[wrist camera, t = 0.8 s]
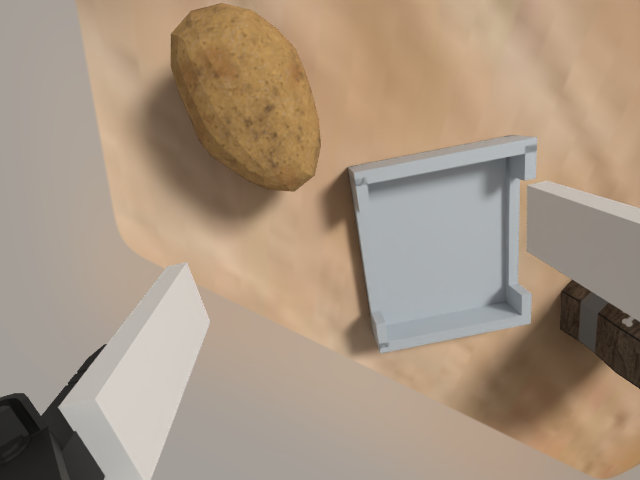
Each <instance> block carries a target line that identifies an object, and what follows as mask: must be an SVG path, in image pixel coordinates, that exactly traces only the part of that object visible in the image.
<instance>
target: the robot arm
mask: <svg viewBox="0 0 640 480" xmlns="http://www.w3.org/2000/svg"><path fill="white" fill-rule="evenodd" d="M527 252H529V253H530V254H532V255H534V256H535V257H537V258H538V259H540V260H542V261H543V262H545V263H547V264H548V265H550V266H551V267H553V268H555V269H556V270H558V271H559V272H561V273H563V274H564V275H566V276H567V277H569V278H571V279H572V280H574V281H575V282H577V283H579V284H580V285H582V286H583V287H585V288H587V289H588V290H590V291H591V292H593V293H595V294H596V295H598V296H599V297H601V298H603V299H604V300H606V301H607V302H609V303H611V304H612V305H614V306H615V307H617V308H619V309H620V310H622V311H623V312H625V313H627V314H628V315H630V316H631V317H633V318H635V319H636V320H638V321H639V322H640V208H637V207H634V206H631V205H627V204H624V203H620V202H617V201H614V200H610V199H607V198H604V197H600V196H597V195H594V194H590V193H587V192H583V191H580V190H577V189H573V188H570V187H567V186H563V185H560V184H557V183H553V182H550V181H544V182H539V183H535V184H530V185H527ZM209 324H210V320H209V318H208V315H207V312H206V310H205V308H204V305H203V302H202V300H201V297H200V295H199V292H198V289H197V287H196V284H195V282H194V279H193V277H192V274H191V272H190V269H189V267H188V264H187V262H185V263H181V264H176V265H172V266H168V267H166V269H165V270H164V271H163V273H162V274H161V275H160V276H159V278H158V279H157V280H156V282H155V283H154V284H153V286H152V287H151V288H150V290H149V291H148V292H147V293H146V294H145V296H144V297H143V298H142V300H141V301H140V302H139V304H138V305H137V306H136V307H135V309H134V310H133V312H132V313H131V314H130V315H129V316H128V318H127V319H126V320H125V322H124V323H123V324H122V326H121V327H120V328H119V329H118V331H117V332H116V333H115V334H114V336H113V337H112V338H111V340H110V341H109V342H108V344H105V345H103V346H102V347H101V348H100V349H98V350H97V351H96V352H95V353H94V354H92V355H91V356H90V357H89V358H88V359H87V360H86V361H85V363H84V364H83V365H82V366H81V367H80V369H79V370H78V371H77V372H78V373H77V374H75V375H74V376H73V377H72V379H71V380H70V381H69V382H68V385H67V386H65V387H64V389H63V390H62V391H61V393H59V395H58V396H57V397H56V399H55V400H54V401H53V402H52V403H51V405H50V406H49V407H48V408H47V410H46V411H45V412H44V413H43V414H42V416H40V414H39V413H38V411H37V410H36V409H35V407H34V406H33V404H32V403H31V401H30V400H29V398H28V397H27V396H26V395H25V394H24V393H14V394H11V395H7V396H4V397H1V398H0V480H104V478H105V479H106V480H151V478H152V475H153V472H154V470H155V467H156V464H157V461H158V459H159V456H160V454H161V451H162V448H163V446H164V443H165V441H166V438H167V435H168V433H169V430H170V427H171V425H172V422H173V419H174V417H175V414H176V411H177V409H178V406H179V404H180V401H181V398H182V396H183V393H184V390H185V388H186V385H187V382H188V379H189V377H190V374H191V372H192V369H193V366H194V364H195V361H196V359H197V356H198V353H199V350H200V348H201V345H202V343H203V340H204V337H205V335H206V332H207V329H208V327H209Z"/></svg>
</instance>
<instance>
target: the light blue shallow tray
mask: <svg viewBox="0 0 640 480" xmlns="http://www.w3.org/2000/svg"><path fill="white" fill-rule="evenodd" d="M536 154H537V137H530V136H519V135H510V136H505V137H500V138H494V139H489V140H484V141H479V142H474V143H469V144H463V145H458V146H453V147H448V148H443V149H438V150H433V151H427V152H422V153H417V154H412V155H407V156H402V157H396V158H391V159H386V160H381V161H376V162H371V163H366V164H360V165H355V166H350V167H348V172H349V178H350V185H351V191H352V198H353V205H354V211H355V218H356V224H357V231H358V238H359V244H360V251H361V258H362V264H363V271H364V277H365V284H366V291H367V297H368V304H369V310H370V317H371V324H372V330H373V335H374V338H375V340H376V343H377V346H378V349H379V351H380V353H385V352H390V351H395V350H400V349H405V348H410V347H415V346H420V345H425V344H430V343H435V342H441V341H446V340H451V339H456V338H461V337H466V336H471V335H476V334H481V333H486V332H491V331H496V330H501V329H506V328H511V327H516V326H521V325H526V324H531V300H532V293H530V292H529V291H528V290H526V289H525V288H524V287H522V286H521V285H520V284H518V254H519V200H520V179H521V180H524V181H525V180H530V179H535V178H536Z"/></svg>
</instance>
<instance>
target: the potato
mask: <svg viewBox="0 0 640 480" xmlns="http://www.w3.org/2000/svg"><path fill="white" fill-rule="evenodd" d="M171 68H172V72H173V75H174V78H175V81H176V84H177V88H178V91H179V94H180V96H181V98H182V101H183V103H184V105H185V107H186V110H187V112H188V114H189V116H190V119H191V121H192V124H193V126H194V129H195V131H196V134H197V137H198V139H199V141H200V142H201V143H202V144H203V146H204V147H205V148H206V149H207V151H208V152H209V153H210V155H211V156H213V157H214V158H216V159H217V160H219V161H220V162H221V163H223V164H224V165H226V166H227V167H229V168H230V169H232V170H233V171H235V172H236V173H238V174H239V175H241V176H242V177H243V178H245V179H246V180H248V181H250V182H252V183H255V184H257V185H259V186H261V187H264V188H266V189H270V190H282V191H296V190H297V189H298V188H299V187H301V186H302V185H303V184H304V183H306V182H307V181H308V180H309V179H311V178H312V177H313V176H314V175H315V171H316V167H317V162H318V157H319V152H320V148H321V139H320V129H319V119H318V115H317V111H316V107H315V103H314V99H313V95H312V91H311V88H310V85H309V82H308V79H307V76H306V73H305V70H304V68H303V65H302V63H301V61H300V58H299V56H298V53H297V51H296V49H295V48H294V47H293V45H292V44H291V43H290V42H289V41H288V40H287V39H286V38H285V37H284V36H283V35H282V34H281V32H280V31H279V30H278V29H277V28H275V27H274V26H273V25H271V24H270V23H269V22H267V21H266V20H265V19H263V18H262V17H261V16H259V15H258V14H257V13H255V12H253V11H251V10H249V9H244V8H240V7H236V6H232V5H227V4H223V3H220V4H216V5H213V6H209V7H205V8H201V9H197V10H193V11H191V12H190V13H189V14H188V15H187V16H186V18H185V19H184V20H183V21H182V22H181V23H180V24H179V25H178V27H177V28H176V29H175V30H174V31H173V32H172V33H171Z"/></svg>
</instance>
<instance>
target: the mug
mask: <svg viewBox="0 0 640 480" xmlns="http://www.w3.org/2000/svg"><path fill="white" fill-rule="evenodd" d="M560 329H561V330H563V331H564V332H566V333H567V334H569V335H570V336H572V337H573V338H575V339H577V340H578V341H580V342H581V343H583V344H584V345H585V346H586V347H588V348H589V349H590V350H591V351H593V352H594V353H595V354H596V355H597V356H598V357H600V358H601V359H602V360H603V361H604V362H605V363H606V364H607V365H608V366H609V367H610V368H611V369H612V370H614V371H615V372H616V373H617V374H619V375H620V376H622V377H623V378H625V379H626V380H628V381H629V382H630V383H632V384H633V385H635V386H636V387H638V388H639V389H640V322H639V321H638V320H636V319H635V318H633V317H631V316H630V315H628V314H627V313H625V312H623V311H622V310H620V309H619V308H617V307H615V306H614V305H612V304H611V303H609V302H607V301H606V300H604V299H603V298H601V297H599V296H598V295H596V294H595V293H593V292H591V291H590V290H588V289H587V288H585V287H583V286H582V285H580V284H579V283H577V282H575V281H574V280H572V281H571V282H570V283H569V284H568V285H567V286H566V287H565V288H564V289H563V290H562V296H561V324H560Z"/></svg>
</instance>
